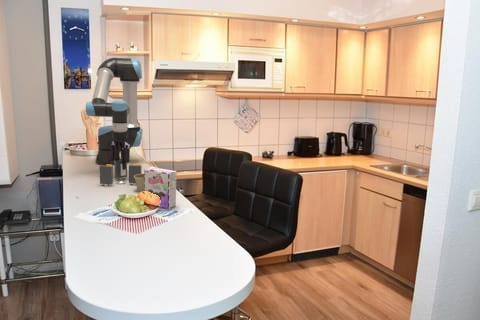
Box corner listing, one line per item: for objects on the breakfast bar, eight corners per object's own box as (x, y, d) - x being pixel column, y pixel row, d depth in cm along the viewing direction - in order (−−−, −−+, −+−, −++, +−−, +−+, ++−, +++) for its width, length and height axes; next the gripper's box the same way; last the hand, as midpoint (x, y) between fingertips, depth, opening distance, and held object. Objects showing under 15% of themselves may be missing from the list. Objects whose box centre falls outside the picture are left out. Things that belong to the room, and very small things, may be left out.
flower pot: (149, 196, 195) (149, 179, 194) (130, 194, 197) (130, 177, 195) (156, 191, 204) (157, 174, 203) (139, 189, 206) (139, 172, 204)
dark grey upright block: (101, 184, 207) (101, 163, 204) (113, 185, 206) (113, 164, 204) (99, 185, 204) (99, 164, 202) (111, 186, 204) (111, 165, 202)
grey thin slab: (130, 183, 211) (130, 163, 208) (141, 184, 210) (141, 163, 208) (128, 184, 208) (128, 164, 206) (140, 185, 208) (140, 164, 206)
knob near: (114, 179, 218) (114, 159, 215) (125, 177, 221) (125, 158, 219) (115, 180, 216) (115, 160, 214) (127, 178, 219) (126, 159, 217)
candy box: (143, 203, 185) (143, 168, 182) (152, 200, 190) (152, 166, 187) (168, 209, 179) (168, 173, 175) (176, 206, 184) (176, 170, 180)
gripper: (103, 129, 214) (104, 173, 219) (125, 133, 205) (126, 178, 210) (114, 128, 220) (115, 170, 225) (136, 132, 212) (136, 176, 217)
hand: (120, 174), depth 218 cm, fingers closed on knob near, 3 cm apart
